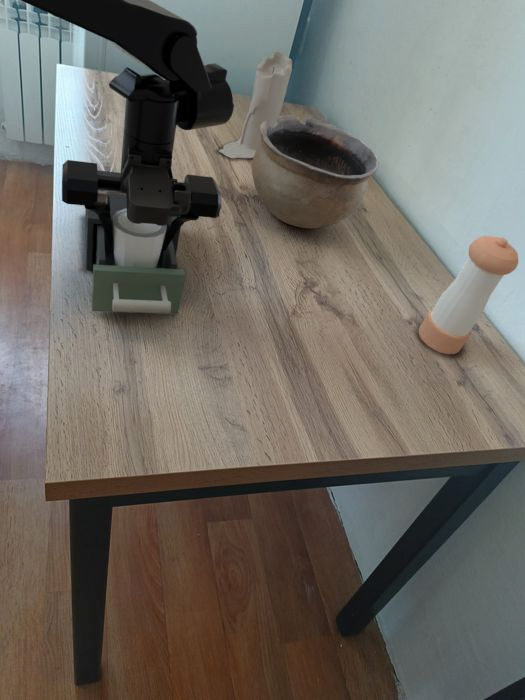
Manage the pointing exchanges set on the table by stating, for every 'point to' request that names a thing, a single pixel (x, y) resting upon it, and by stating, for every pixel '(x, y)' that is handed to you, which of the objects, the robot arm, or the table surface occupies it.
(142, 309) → the drawer
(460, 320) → the salt shaker
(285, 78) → the candle
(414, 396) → the table surface
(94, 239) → the cabinet
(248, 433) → the table surface
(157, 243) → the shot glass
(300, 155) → the ceramic bowl
